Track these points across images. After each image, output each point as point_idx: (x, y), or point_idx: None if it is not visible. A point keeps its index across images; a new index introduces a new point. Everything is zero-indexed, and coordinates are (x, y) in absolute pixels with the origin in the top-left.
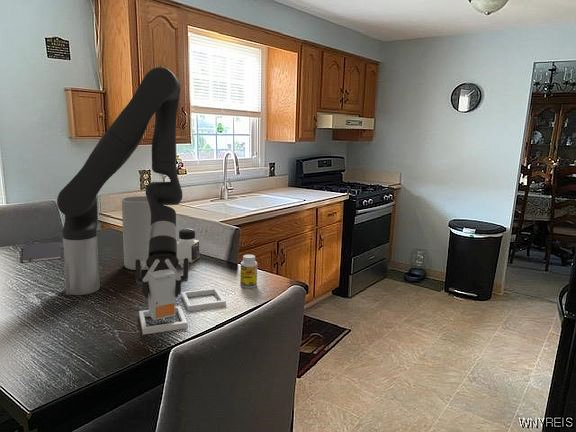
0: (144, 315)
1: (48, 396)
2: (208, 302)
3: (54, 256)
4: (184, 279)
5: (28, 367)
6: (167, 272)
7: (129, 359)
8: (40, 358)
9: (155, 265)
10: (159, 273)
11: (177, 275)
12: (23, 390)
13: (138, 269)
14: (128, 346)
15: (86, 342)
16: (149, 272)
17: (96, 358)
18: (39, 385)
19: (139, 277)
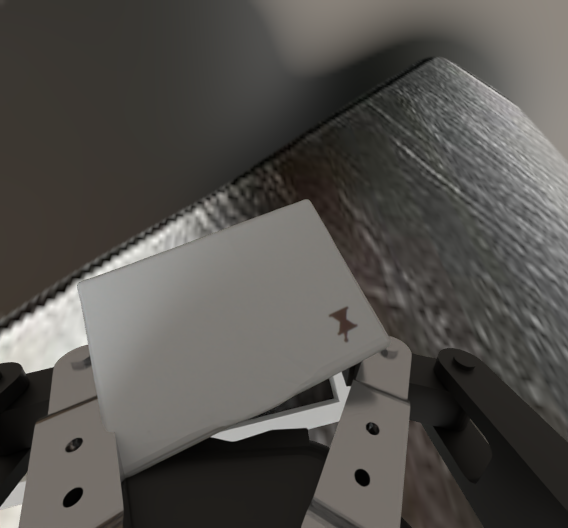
0: (331, 399)
1: (431, 75)
2: (18, 498)
3: None
4: (33, 377)
5: (522, 156)
6: (163, 315)
7: (323, 149)
8: (521, 184)
9: (337, 510)
10: (257, 288)
11: (71, 385)
12: (481, 95)
13: (548, 463)
14: (339, 203)
15: (455, 239)
16: (375, 339)
17: (398, 165)
18: (463, 102)
19: (451, 365)
